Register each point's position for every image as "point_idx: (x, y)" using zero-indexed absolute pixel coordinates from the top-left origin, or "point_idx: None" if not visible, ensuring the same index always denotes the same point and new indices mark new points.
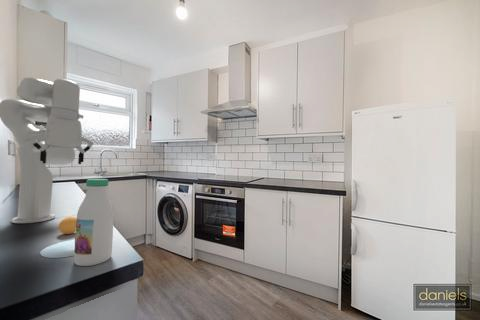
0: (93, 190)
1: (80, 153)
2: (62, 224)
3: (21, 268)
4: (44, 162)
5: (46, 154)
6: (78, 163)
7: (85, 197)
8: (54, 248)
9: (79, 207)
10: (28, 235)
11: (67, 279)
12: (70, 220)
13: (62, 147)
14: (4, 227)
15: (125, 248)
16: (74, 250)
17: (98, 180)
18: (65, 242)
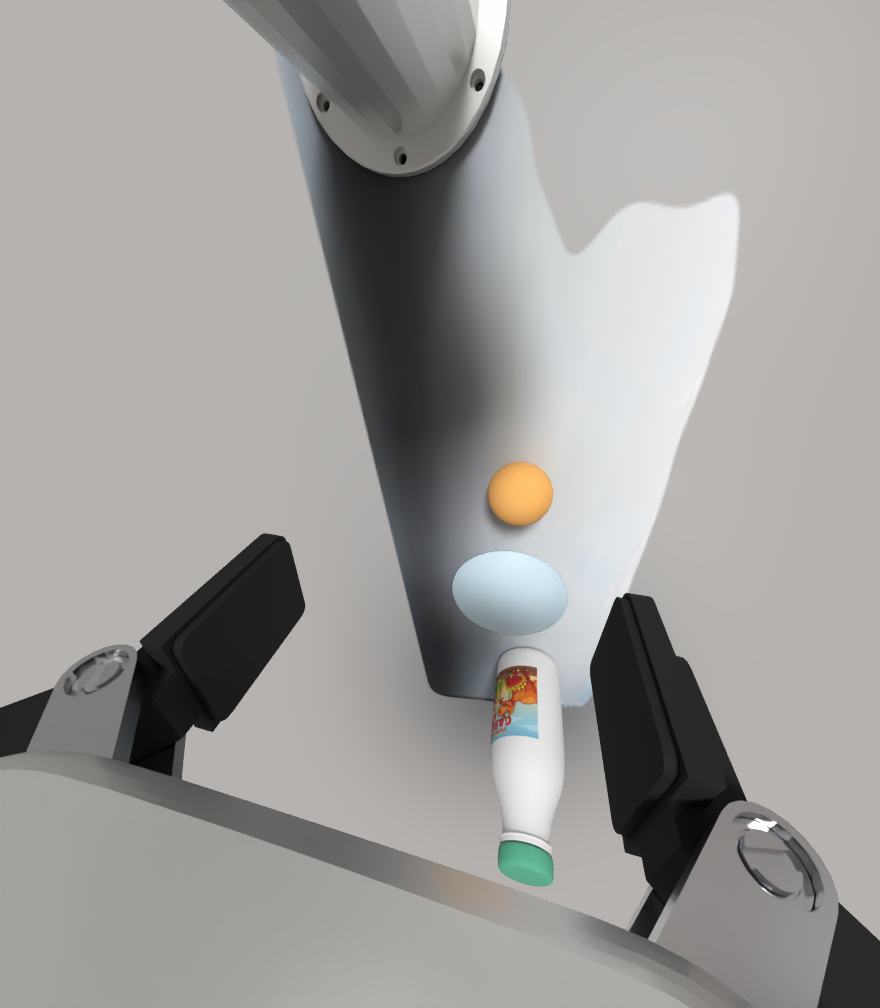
0: (512, 840)
1: (634, 847)
2: (495, 514)
3: (432, 626)
4: (297, 613)
5: (210, 623)
6: (602, 638)
7: (500, 807)
8: (476, 583)
9: (492, 774)
10: (416, 423)
11: (484, 688)
12: (517, 525)
13: (297, 817)
14: (314, 215)
15: None
16: (496, 680)
17: (520, 881)
18: (499, 560)
